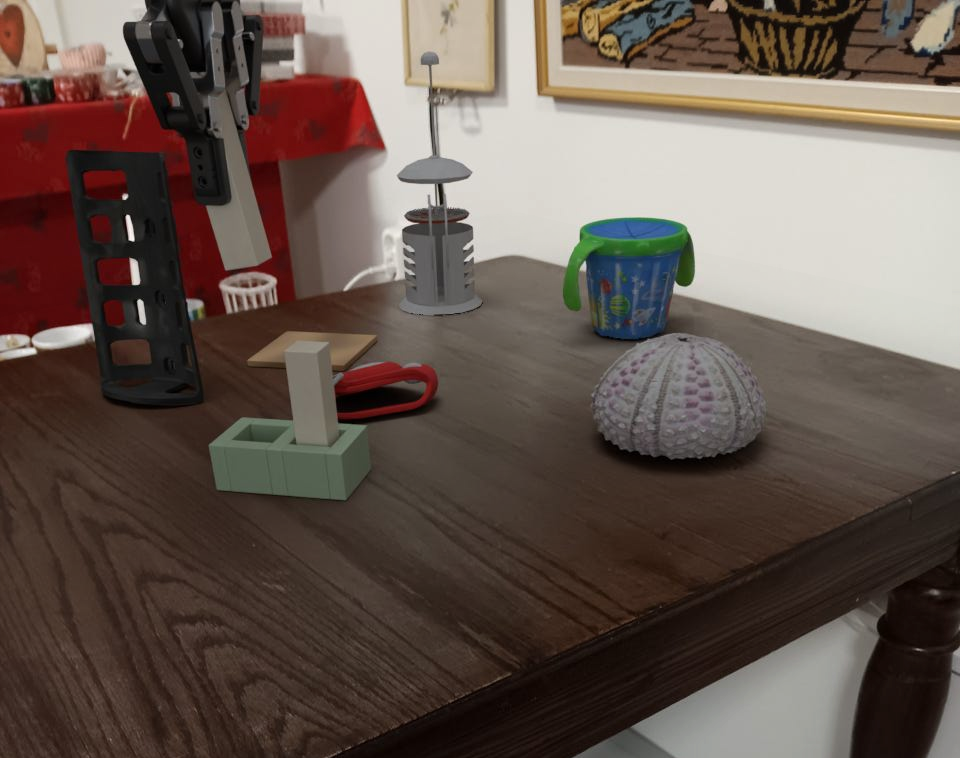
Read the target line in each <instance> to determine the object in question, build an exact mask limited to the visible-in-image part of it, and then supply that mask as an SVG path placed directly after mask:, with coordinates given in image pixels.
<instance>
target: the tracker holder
mask: <svg viewBox="0 0 960 758" xmlns="http://www.w3.org/2000/svg"><path fill="white" fill-rule="evenodd" d="M333 382H334V391H335V399H336V398H337V397H343V396H346V395H347V396H349V395H352V394H357V393H361V392H364V391H367V390H372V389H376V388H380V387H385V386H388V385H393V384H397V383H401V382H405V383H407V384H409V385H410V384H412V385H413V384H419V383H424V384H425V391H424V393H423V395H422V396H421V397H420V398H419V399H418V400H415V401H410V402H409V401H408V402H404V403H397V404H392V405H387V406H381V407H374V408H368V409H362V410H357V411H356V410H355V411H351V412H337V419H338V421H349V420H350V421H351V420H361V419H367V418H373V417H379V416H383V415H390V414H395V413H401V412H406V411H412V410H416V409H418V408H421V407H422V406H425V405H427V404H429V402H431V401H432V400H433V399H434V397H435V395H436V393H437V391H438V388H439V377H438V374H437V372H436V370H435V369H434V368H433V367H432V366H431V365H429V364H427V363H419V362H410V363H409V362H408V363H406V364H404V365H403V366H402V365H401V364H399V363H398V362H394V361H376V362H375V361H374V362H369V363H365V364H361V365H359V366H356V367H354V368H352V369H350V370H346V371H343V372H339V373H337V374H335V375H334V374H333Z"/></svg>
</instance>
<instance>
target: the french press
mask: <svg viewBox="0 0 960 758" xmlns="http://www.w3.org/2000/svg"><path fill="white" fill-rule="evenodd" d="M420 65H421V66H428V74H429V93H430V94H429V95H430V96H429V97H430V115H431V117H430V118H431V136H432V138H431V139H432V155H430V156H428V157H426V158H420V159H417V160H415V161H413V162H411V163H409V164H407V165H405V166H404V167H403V169H401V170H400V171H399V173H397V174H396V177H397V179H398V180H399V181H400V182H402V183H406V184H416V185H434V200H435V205H433V204H432V203H431V200H432V199H431V194H427V204H428V206H427V207H421V208H417V209H416V208H414V209H412V210H409V211H407V212H406V213H405V214H404V215H403V216H404V218H405V220H406V221H408V222H410V223H413V224H409V225H406V226H405V227H403V228H402V229H401V236H402V237H401V239H402V242H403V244H404V245H405V246H409V247H410V248H411V249H412V250H413V251H410V250H408V248H406V247H402V251H403V252H402V253H403V256H405V257H406V258H407V259H410V260H411V261H412V262H413V263H412V262H409V261H408V260H406V259H403V266H404V268H405V269H406V270H408V271H411V273H413V274H410V273H409V272H408V271H404V278H405V279H406V281H408V282H410V283H412V284H413V285H409V284H408V283H407V282H405V283H404V286H405V287H404V288H405V296H404V298H403V299H402V300H401V301H400V303H399V304H398V307H399V309H400V310H401V311H403V312H406V313H409V314H411V313H413V314H412V315H419V314H421V315H420V316H434V315H433V314H454V313H460V312H465V311H468V310H471V309H474V308H476V307H478V306H479V305H480V304H481V302H482V301H483V299H481V298H480V297H479V296H478V295H477V294H476V289H475V288H476V284H475V279H473V280H472V281H471V282H470V283H469V281H470V279H472V278H473V277H474V276H475V268H472V269H471V270H470V272H467V271H468V269H469V268H471V267H472V266H473V265H474V264H475V257H474V256H472V257H471V258H470V259H469V260H467V261H466V259H468V257H469V256H471V255H472V254H473V253H474V252H475V249H474V248H475V247H474V244H471V245H470V247H468V248H467V249H464V248H465V247H466V246H467V245H468V244H470V243H471V242H472V241H473V240H474V226H472V225H471V224H468V223H465V222H462V221H464V220H466V219H468V218H469V216H470V214H471V213H470V212H469V210H467V209H466V208H460V207H454V206H453V207H452V206H450V207H449V206H448V207H447V205H448V204H447V194H446V193H443V194H442V195H443V196H442V197H443V198H442V199H443V202H442V204H440V205H438V204H439V203H438V185H439V184H441V185H442V184H451V183H457V182H462V181H464V180H468V179H469V178H470V177H471V176H472V174H473V173H474V172H473V171H472V170H471V169H470V168H468V167H467V166H466V165H465V164H464V163H462V162H460V161H457V160H455V159H452V158H447V157H443V156H442V157H441V156H440V155H437V154H436V140H435V137H436V136H435V117H434V116H435V115H434V94H433V74H432V71H433V70H432V66H435V65H440V58H439V55H438V54H437V53H436V52H435V51H425V52H424V53H422V55H421V56H420ZM465 313H466V312H465ZM422 314H423V315H422ZM454 315H455V314H454Z"/></svg>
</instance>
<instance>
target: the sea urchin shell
mask: <svg viewBox="0 0 960 758" xmlns="http://www.w3.org/2000/svg"><path fill="white" fill-rule="evenodd" d="M743 359H744V358H743V357H741V356H739V355H738V354H737V353H736V352H735V351H734V350H733V349H731V348H730V347H729V346H728V345H726V344H725V343H723V342H722V341H719V340H717V339H713V338H709V337H705V336H697V335H694V334H691V333H684V332H671V333H667V334H664V335H660V336H658V337H654V338H647V340H644V341H642V342H640V343H639V342H636V344H635V346H633V347H631V348H630V349H626V350H625V352H624V353H623V354H622V355H620V356H619V357H618V358H616V359H615V361H614V362H613V363H612V364H611V365H610V366H609V367H608V368H607V369H606V371H605V372H604V373H602V376H601V377H600V378H599V382H598V383H597V384H596V385H595V386H593V388H594V389H593V390H594V391H593V392H592V393H591V394H590V396H591V399H592V402H591V404H590V405H589V408H590V409H591V410H592V411H593V414H592V419H593V420H594V421H595V422H596V423H597V432H599V433H601V434H603V437H604V440H605V441H610V442H611V443H612V445H616V446H618V447H619V450H626V451H627V452H629V453H631V452H634V451H635V452H639V454H640V455H641V456H643V455H645V456H649V455H650V456H651V457H652V458H657V457H660V456H663V457H666V458H668V459H670V461H671V460H675V459H679V460H680V459H681V460H684V459H687V458H689V459H692V458H693V459H695V458H697V459H699V460H700V459H702V458H709V457H712V458H715V457H716V456H717V455H718V454H721V455H724V456H725V455H726V454H727V453H729V454H732V453H733V452H737V451H738V450H741V449H742V448H746V446H747V445H748V444H749V443H751V442H752V443H753V441H755V440H756V437H757V435H759V433H761V432H762V431H763V428H762V427H764V424H765V422H766V416H767V414H768V410H767V408H766V405H767V401H766V400H765V398H764V393H765V392H764V390H763V388H761V387H760V386H759V384H758V382H757V379H758V376H756V375H754V374H752V369H751V366H750V365H748V364H746V362H744V360H743Z"/></svg>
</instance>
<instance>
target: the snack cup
mask: <svg viewBox="0 0 960 758" xmlns="http://www.w3.org/2000/svg"><path fill="white" fill-rule="evenodd" d="M695 258H696V257H695V248H694V241H693V239H692V235H691V234H690V232H689V231H688V227H687V226H686V225H685V224H683V223H681V222H679V221H675V220H671V219H666V218H657V217H639V216H638V217H637V216H636V217H633V216H631V217H614V218H605V219H599V220H595V221H591V222H588V223H586V224H584V225H582V226H581V227H580V229H579V241H578V243H577V244H576V245H575V246H573V251H572V252H571V254H570V256H569V259H568V261H567V262H568V263H567V266H566V269H565V274H564V279H563V284H562V285H563V286H562V298H563V302H564V305H565V307H566V308H567V309H568V310H569V311H573V312H579V311H580V310H582V299H581V295H580V293H581V292H580V285H579V274H580V269H581V267H582V266H583V265H584V263H585V277H586V278H585V279H586V288H587V297H588V305H589V315H590V323H591V324H592V327H593V329H594V331H596V332H597V333H598V335H600V337H601V336H602V337H607V336H609V337H608V338H612V337H613V338H612V339H617V338H621V339H620V340H624V339H626V340H640V339H639V338H641V339H646V337H647V338H650V337H653V336H654V335H655V336H656V335H657V334H660V333H661V334H662V333H663V332H664V330H665V327H666V324H667V320H668V318H669V312H670V307H671V303H672V300H673V293H674V287H675V283H676V284H677V285H678V286H680V287H683V288H688V287H689V286H691V285H692V283H693V281H694V279H695V274H696V259H695Z"/></svg>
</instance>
